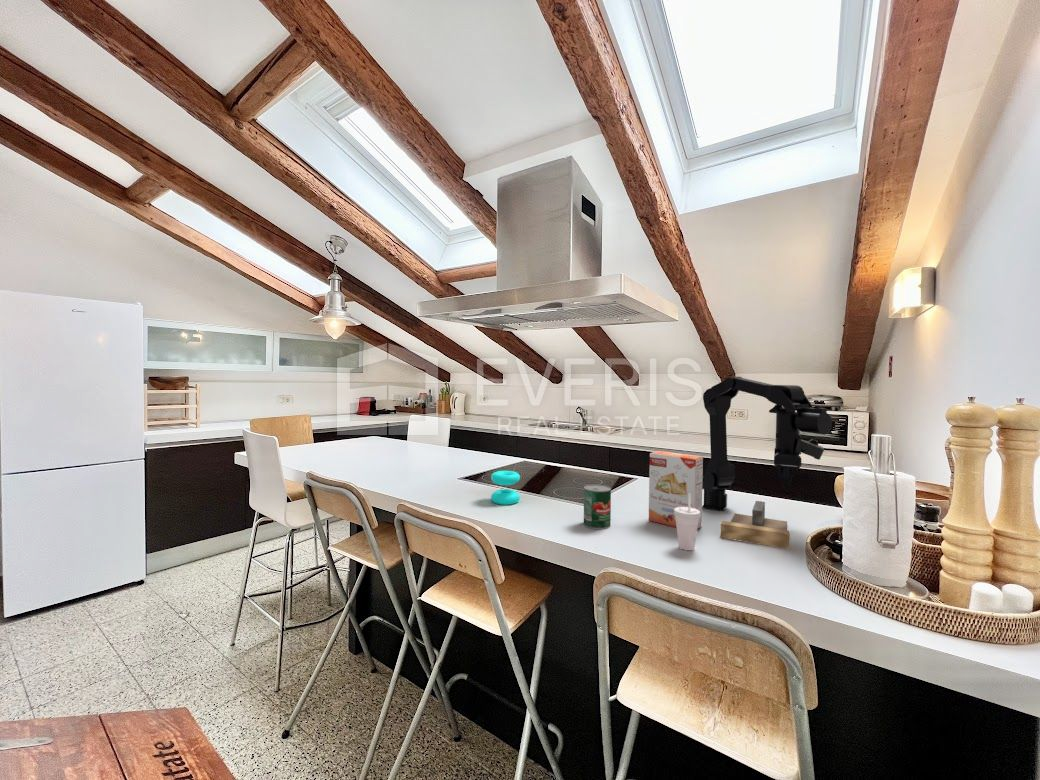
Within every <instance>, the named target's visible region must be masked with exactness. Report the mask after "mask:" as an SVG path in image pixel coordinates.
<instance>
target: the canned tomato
mask: <svg viewBox="0 0 1040 780" xmlns="http://www.w3.org/2000/svg"><path fill="white" fill-rule="evenodd" d="M611 496H612V487H610V486H608V485H604V484H587V485H584V486H583V526H585V527H587V528H588V529H593V530H606V529H608V528H611V525H612V524H611V521H612V520H611V519H612V518H611V516H612V515H611V513H612V511H611V510H612V507H611V506H612V505H611V504H612V499H611V498H612V497H611Z"/></svg>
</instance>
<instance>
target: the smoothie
mask: <svg viewBox="0 0 1040 780" xmlns="http://www.w3.org/2000/svg"><path fill="white" fill-rule="evenodd" d="M674 514H675V517H676V526H677V527H676V535H677V542H678V549H680V548H681V550H682V549H684V550H683V551H686V550H692V551H694V550H695V547H696V546H695V545H696V539H697V534H698V533H697V532H698V529H697V527H698V521H699V517H700V516H701V515H700V511H699V510H698V509H695V508H691V494H690V493H689V497H688V507H676V508H675V509H674ZM693 549H694V550H693Z"/></svg>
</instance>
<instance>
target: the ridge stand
mask: <svg viewBox="0 0 1040 780" xmlns="http://www.w3.org/2000/svg"><path fill="white" fill-rule="evenodd" d="M765 506H766V502H765V501H761V500H755V501H754V505H753V508H752V512H751V513H752V515H748V514H741V513H734V514H733V516H732V518H731V520H730V522H733V523H740V524H747V525H754V526H761V527H768V528H775V529H781V530H787V528H788V521H787V520H781V519H780V520H779V519H774V518H768V517H765V515H766V514H765V513H766V511H765V509H766V507H765Z"/></svg>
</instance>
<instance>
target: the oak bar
mask: <svg viewBox="0 0 1040 780" xmlns="http://www.w3.org/2000/svg"><path fill="white" fill-rule="evenodd" d="M721 537H722V538H721ZM790 537H791V535H790V531H789V529H788V530H787V529H786V530H781V529H775V528H768V527H761V526H754V525H747V524H740V523H733V522H731V521H725V520H721V522H720V538H721V539H727V538H729V540H733V539H736V540H735V541H739V540H741V542H745V541H746V543H751V542H752V544H757V543H759V545H765V546H770V545H771V546H772V547H778V548H782V549H790V540H791V538H790ZM771 546H770V547H771Z"/></svg>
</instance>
